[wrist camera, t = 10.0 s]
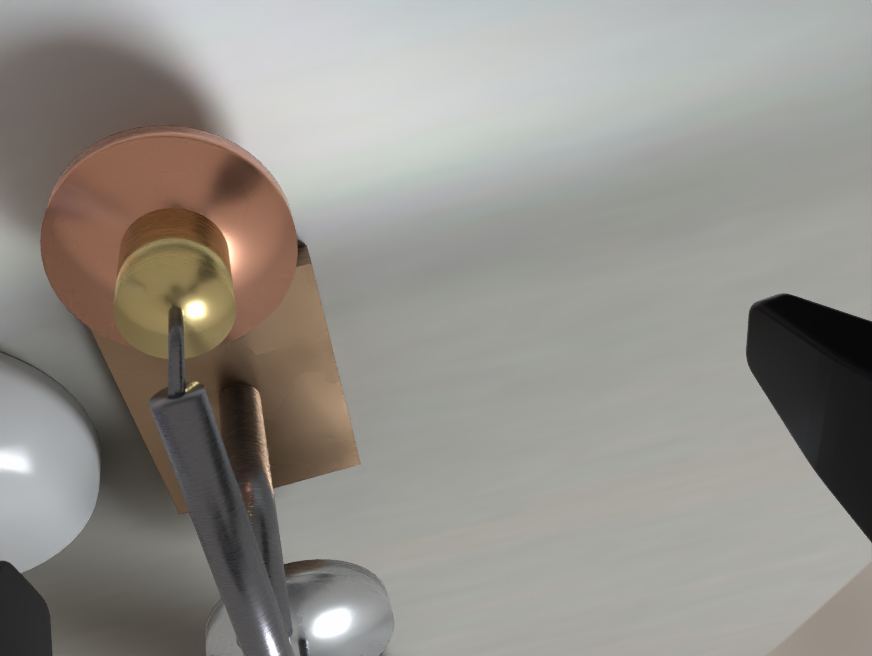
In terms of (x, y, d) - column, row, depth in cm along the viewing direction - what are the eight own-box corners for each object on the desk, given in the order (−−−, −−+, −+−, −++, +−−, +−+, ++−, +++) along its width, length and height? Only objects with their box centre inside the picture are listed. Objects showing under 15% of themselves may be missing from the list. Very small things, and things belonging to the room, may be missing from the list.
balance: (6, 123, 18) (-140, 453, 10) (263, 71, 19) (339, 332, 10) (220, 579, 29) (241, 924, 21) (377, 534, 30) (460, 846, 21)
